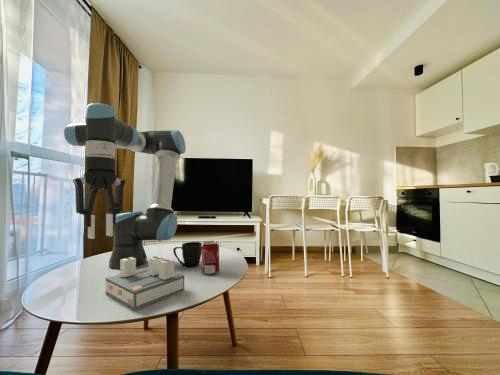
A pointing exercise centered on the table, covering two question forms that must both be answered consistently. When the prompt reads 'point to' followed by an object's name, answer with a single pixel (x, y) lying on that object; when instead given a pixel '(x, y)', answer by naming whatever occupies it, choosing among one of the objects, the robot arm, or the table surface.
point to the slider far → (127, 267)
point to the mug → (190, 254)
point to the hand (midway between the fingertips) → (100, 236)
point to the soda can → (210, 258)
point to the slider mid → (154, 265)
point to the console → (143, 288)
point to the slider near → (166, 269)
